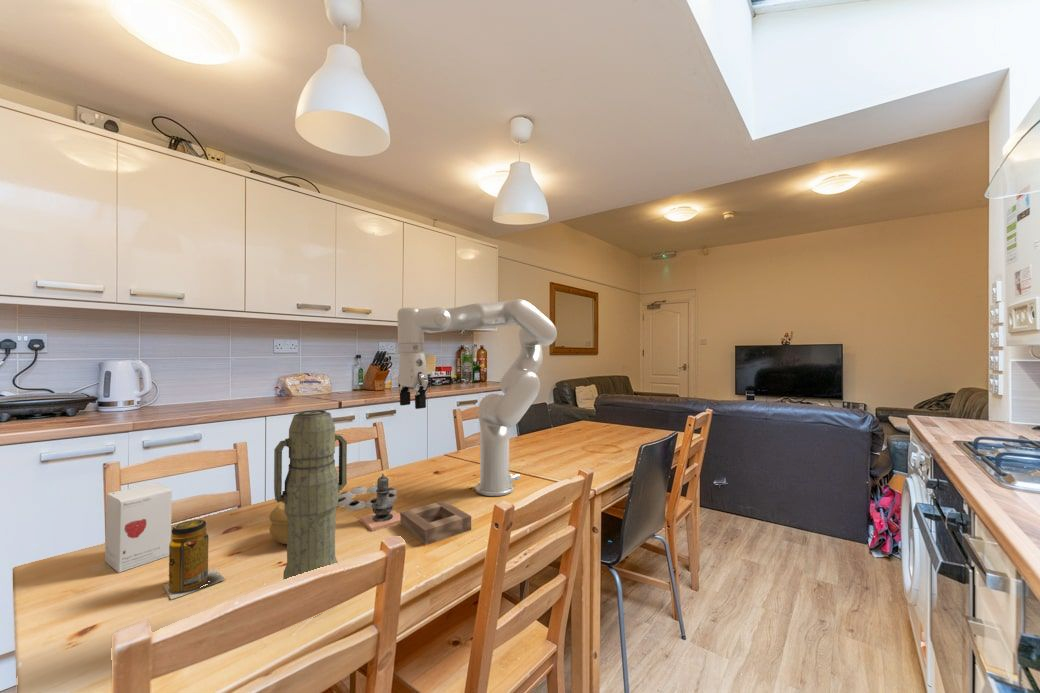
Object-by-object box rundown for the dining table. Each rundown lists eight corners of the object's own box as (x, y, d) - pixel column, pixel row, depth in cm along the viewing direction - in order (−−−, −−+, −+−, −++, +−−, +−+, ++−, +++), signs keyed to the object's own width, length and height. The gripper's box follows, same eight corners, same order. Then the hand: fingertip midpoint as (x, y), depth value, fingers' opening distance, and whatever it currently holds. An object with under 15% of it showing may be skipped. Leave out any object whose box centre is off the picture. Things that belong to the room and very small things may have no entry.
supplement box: (117, 574, 85) (118, 501, 85) (103, 562, 89) (104, 493, 89) (172, 555, 92) (172, 488, 92) (157, 545, 97) (157, 481, 97)
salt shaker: (386, 523, 108) (387, 477, 108) (366, 521, 109) (367, 475, 109) (398, 514, 114) (398, 471, 114) (378, 512, 115) (379, 469, 115)
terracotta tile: (391, 511, 118) (391, 508, 118) (405, 521, 111) (405, 518, 111) (359, 520, 112) (359, 517, 112) (371, 531, 105) (371, 528, 105)
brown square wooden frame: (443, 512, 117) (443, 500, 117) (471, 529, 106) (471, 516, 106) (400, 525, 108) (400, 512, 108) (425, 545, 98) (425, 530, 98)
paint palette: (342, 517, 115) (342, 510, 115) (324, 497, 130) (324, 491, 130) (409, 501, 127) (409, 494, 127) (385, 484, 142) (385, 479, 142)
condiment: (163, 586, 81) (163, 524, 81) (215, 568, 87) (215, 511, 87) (171, 600, 76) (171, 535, 76) (225, 581, 82) (226, 521, 82)
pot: (330, 540, 100) (330, 499, 100) (274, 556, 92) (275, 511, 92) (316, 524, 109) (316, 486, 109) (264, 537, 101) (265, 497, 101)
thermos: (354, 599, 76) (355, 411, 77) (284, 631, 68) (285, 418, 68) (333, 580, 82) (335, 406, 83) (267, 608, 74) (268, 413, 74)
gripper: (437, 348, 119) (438, 408, 119) (409, 349, 132) (410, 402, 132) (413, 349, 114) (414, 411, 114) (387, 349, 127) (388, 405, 127)
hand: (412, 406), depth 123 cm, fingers open, 9 cm apart
